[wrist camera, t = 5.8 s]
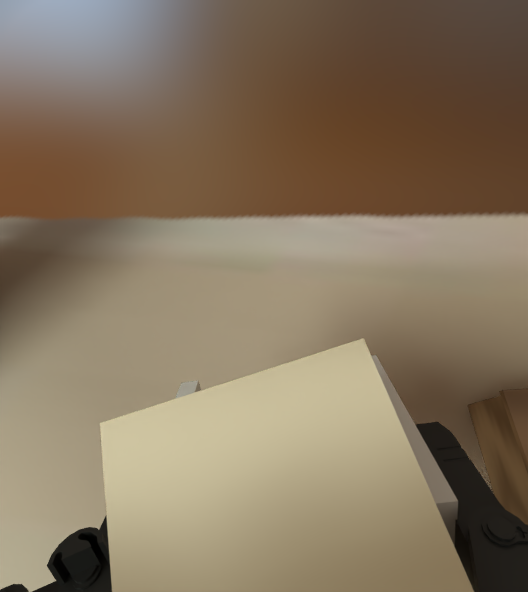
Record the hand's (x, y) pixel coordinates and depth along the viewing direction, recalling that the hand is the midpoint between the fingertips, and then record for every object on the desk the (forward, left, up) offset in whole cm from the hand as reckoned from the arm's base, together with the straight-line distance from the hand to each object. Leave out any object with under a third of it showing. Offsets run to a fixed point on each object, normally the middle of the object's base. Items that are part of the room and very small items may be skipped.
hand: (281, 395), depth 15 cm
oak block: (+3, -1, -4) cm, 5 cm away
